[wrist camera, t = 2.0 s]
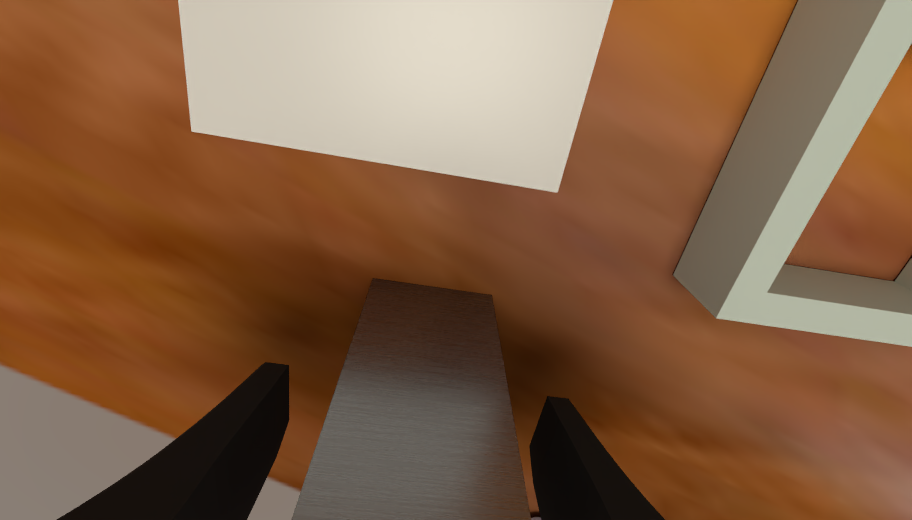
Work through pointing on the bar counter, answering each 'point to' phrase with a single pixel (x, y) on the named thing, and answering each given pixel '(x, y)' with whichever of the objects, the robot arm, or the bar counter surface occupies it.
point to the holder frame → (801, 179)
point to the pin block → (419, 416)
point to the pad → (398, 80)
